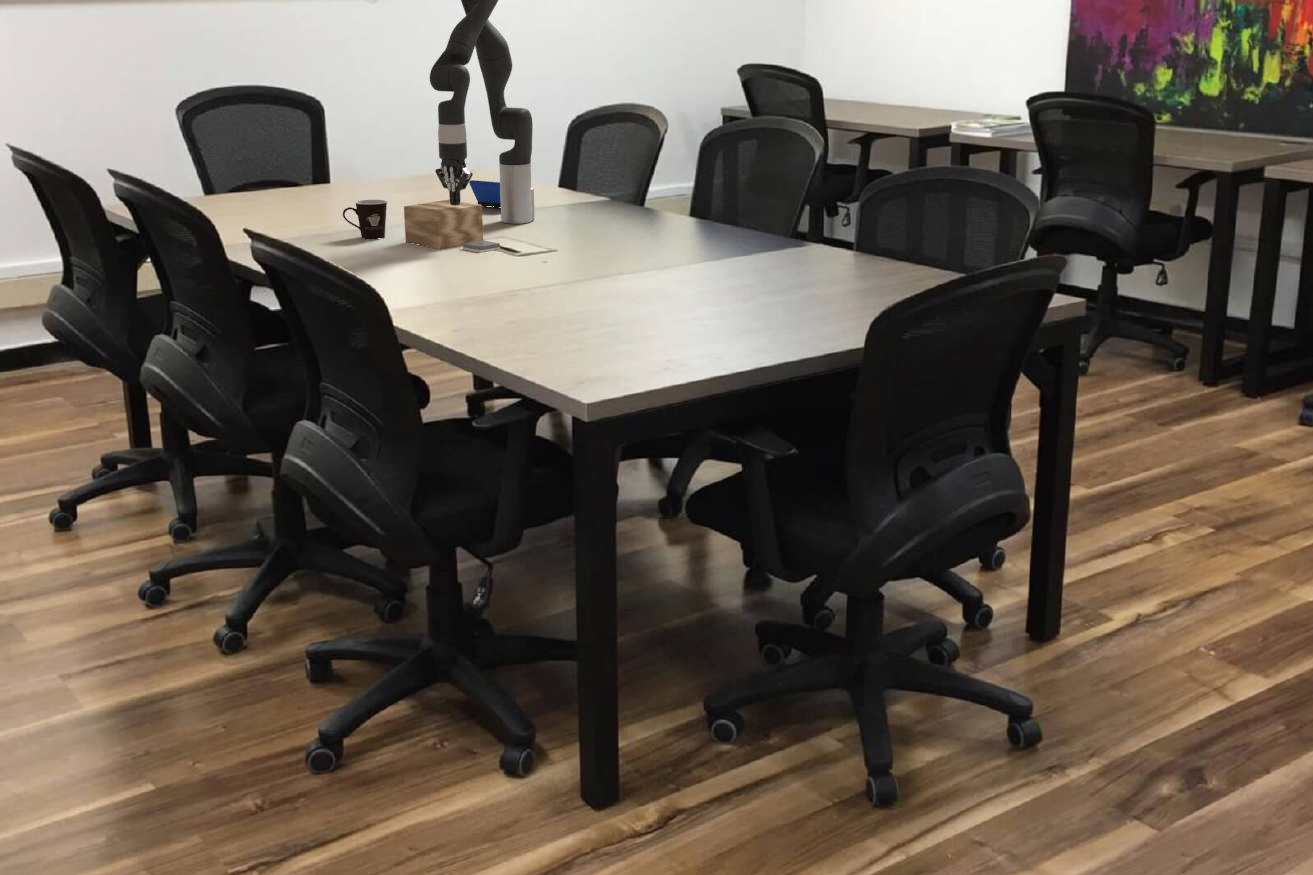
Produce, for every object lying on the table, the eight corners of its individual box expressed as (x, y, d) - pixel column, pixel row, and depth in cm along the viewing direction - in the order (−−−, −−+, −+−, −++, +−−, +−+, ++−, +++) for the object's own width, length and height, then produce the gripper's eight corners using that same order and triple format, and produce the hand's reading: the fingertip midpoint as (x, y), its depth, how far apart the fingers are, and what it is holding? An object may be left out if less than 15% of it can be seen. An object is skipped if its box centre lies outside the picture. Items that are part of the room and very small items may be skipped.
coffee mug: (392, 235, 421) (390, 199, 418) (384, 240, 413) (382, 204, 410) (352, 234, 422) (350, 199, 419) (343, 239, 414) (340, 203, 411)
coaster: (499, 243, 401) (499, 250, 402) (482, 240, 406) (482, 247, 406) (480, 246, 396) (480, 254, 397) (462, 243, 401) (463, 250, 401)
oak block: (449, 234, 421) (448, 199, 418) (483, 240, 413) (481, 204, 409) (405, 242, 410) (403, 206, 407) (439, 248, 401) (437, 212, 398)
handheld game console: (534, 207, 469) (533, 178, 467) (509, 213, 459) (508, 183, 456) (494, 203, 477) (493, 174, 474) (468, 209, 466) (467, 179, 463)
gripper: (479, 141, 398) (481, 205, 404) (446, 137, 406) (449, 200, 412) (458, 144, 393) (461, 209, 398) (425, 140, 401) (428, 204, 406)
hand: (455, 204), depth 405 cm, fingers closed
